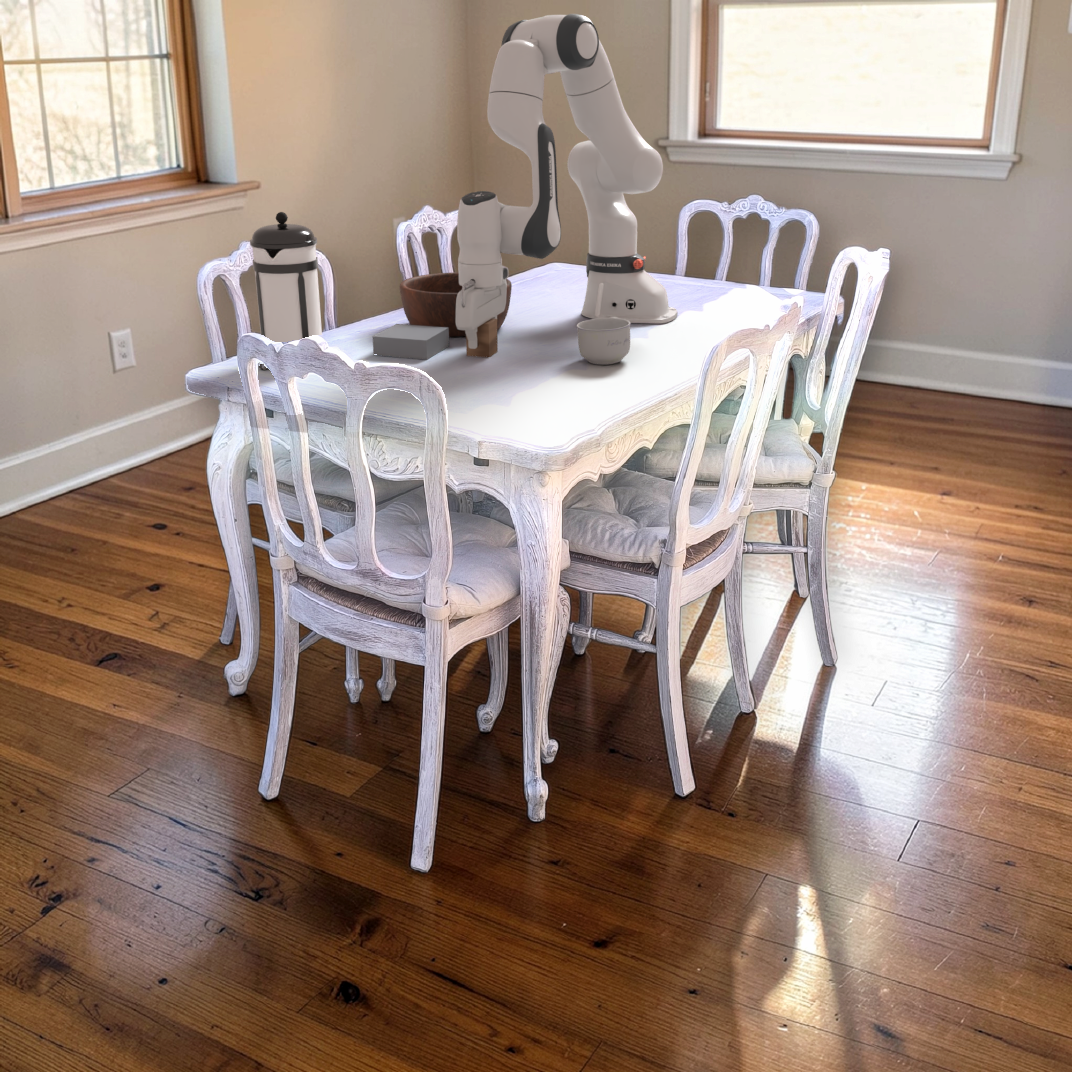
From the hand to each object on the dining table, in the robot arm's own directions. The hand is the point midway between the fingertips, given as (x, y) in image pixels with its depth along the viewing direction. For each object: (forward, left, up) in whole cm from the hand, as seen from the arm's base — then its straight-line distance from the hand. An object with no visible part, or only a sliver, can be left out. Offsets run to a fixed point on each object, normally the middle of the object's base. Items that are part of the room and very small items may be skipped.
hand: (481, 342), depth 251 cm
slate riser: (+15, +2, -2) cm, 15 cm away
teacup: (-26, -3, -3) cm, 26 cm away
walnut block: (0, 0, -2) cm, 2 cm away
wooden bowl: (+14, -21, -3) cm, 25 cm away
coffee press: (+34, +18, -2) cm, 39 cm away
